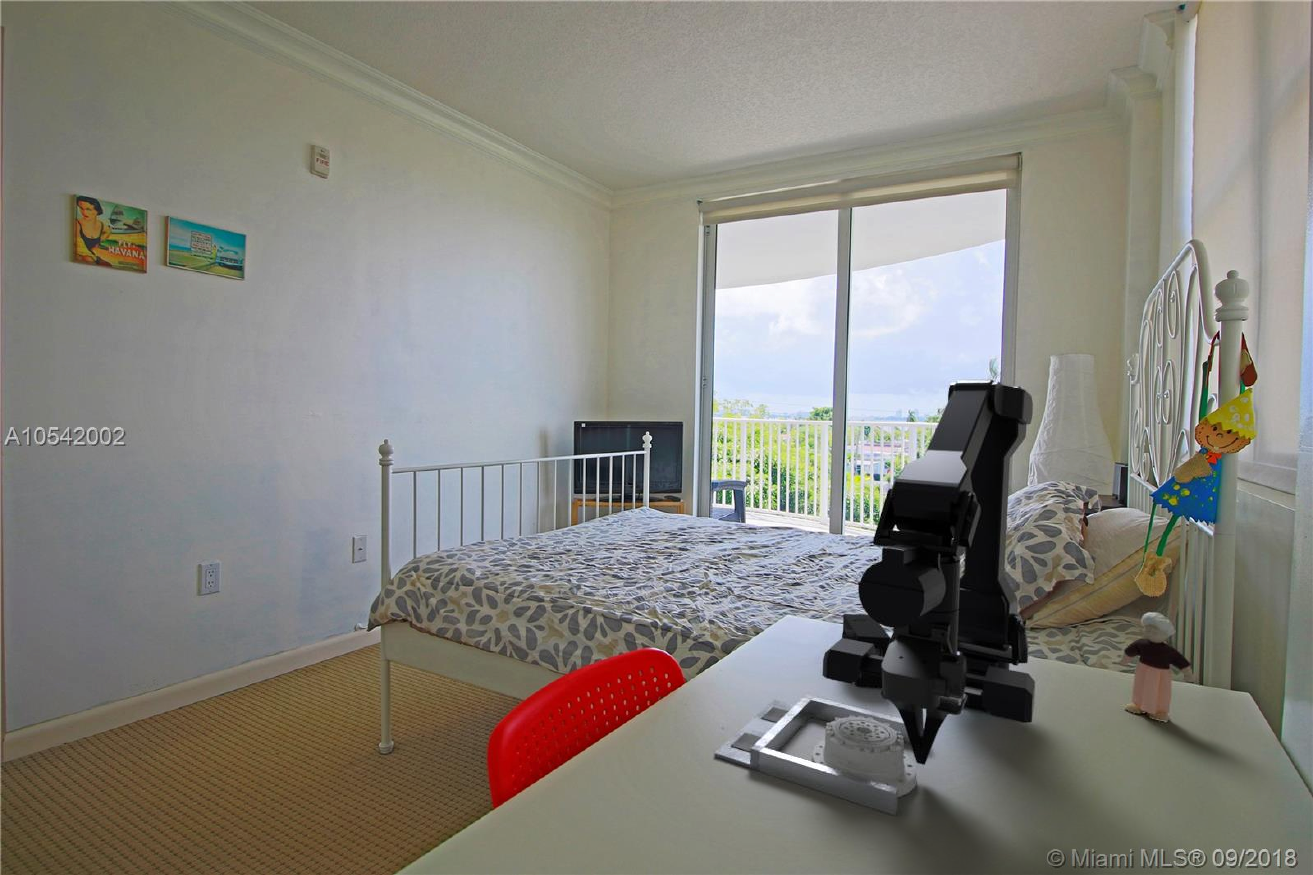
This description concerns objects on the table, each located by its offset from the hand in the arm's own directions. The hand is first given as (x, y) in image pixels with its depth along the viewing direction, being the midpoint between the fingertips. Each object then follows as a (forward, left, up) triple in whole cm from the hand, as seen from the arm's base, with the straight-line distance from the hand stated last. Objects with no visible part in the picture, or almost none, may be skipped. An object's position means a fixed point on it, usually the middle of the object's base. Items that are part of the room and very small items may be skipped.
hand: (921, 762), depth 66 cm
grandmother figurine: (-32, +21, -2) cm, 38 cm away
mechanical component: (+2, -5, -2) cm, 6 cm away
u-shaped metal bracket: (0, -10, -2) cm, 10 cm away
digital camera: (-25, -13, -2) cm, 28 cm away
